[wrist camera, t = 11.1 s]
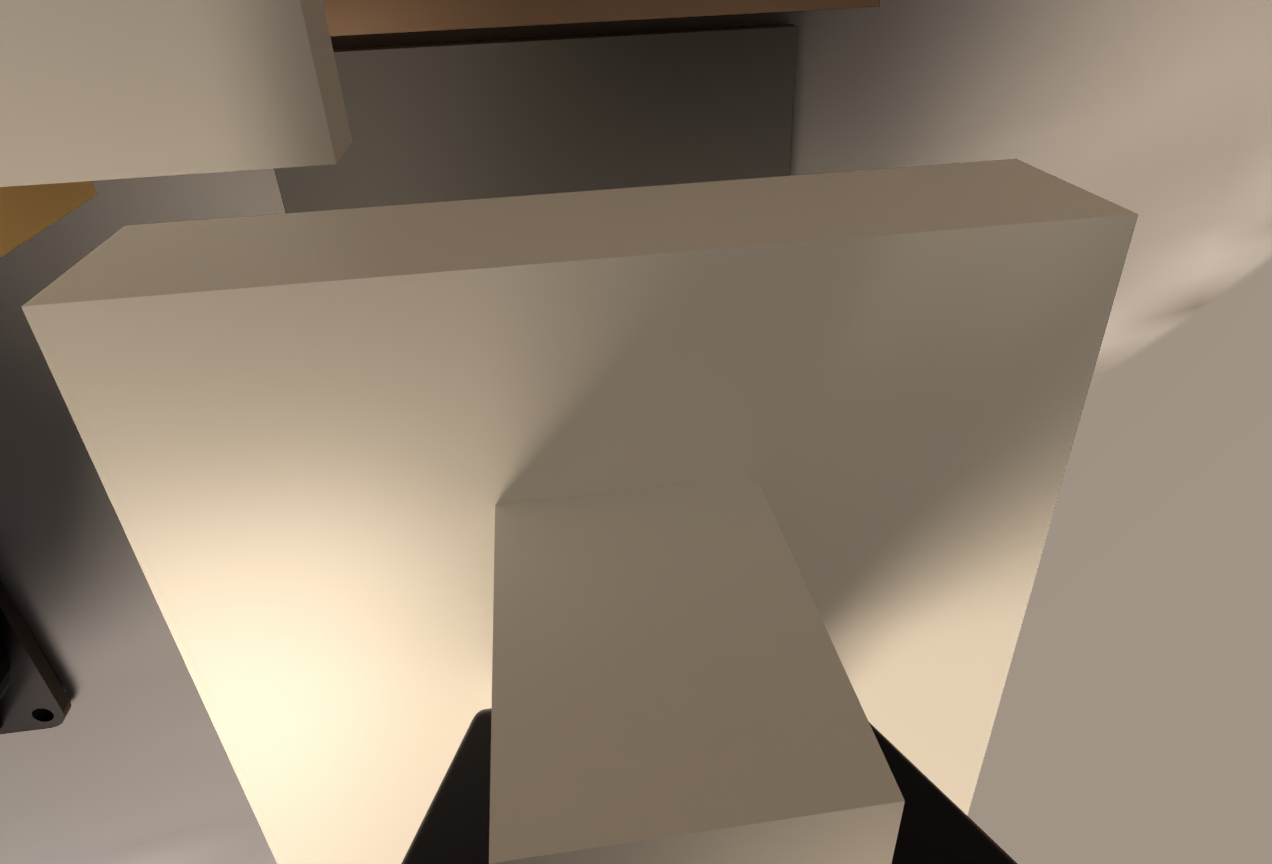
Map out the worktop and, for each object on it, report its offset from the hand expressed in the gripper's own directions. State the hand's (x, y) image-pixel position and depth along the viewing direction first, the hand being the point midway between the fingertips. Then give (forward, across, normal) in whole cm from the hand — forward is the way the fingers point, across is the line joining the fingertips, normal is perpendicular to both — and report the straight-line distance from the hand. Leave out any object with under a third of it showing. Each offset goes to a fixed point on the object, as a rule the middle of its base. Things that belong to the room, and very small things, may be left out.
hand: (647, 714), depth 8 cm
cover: (+3, 0, 0) cm, 3 cm away
